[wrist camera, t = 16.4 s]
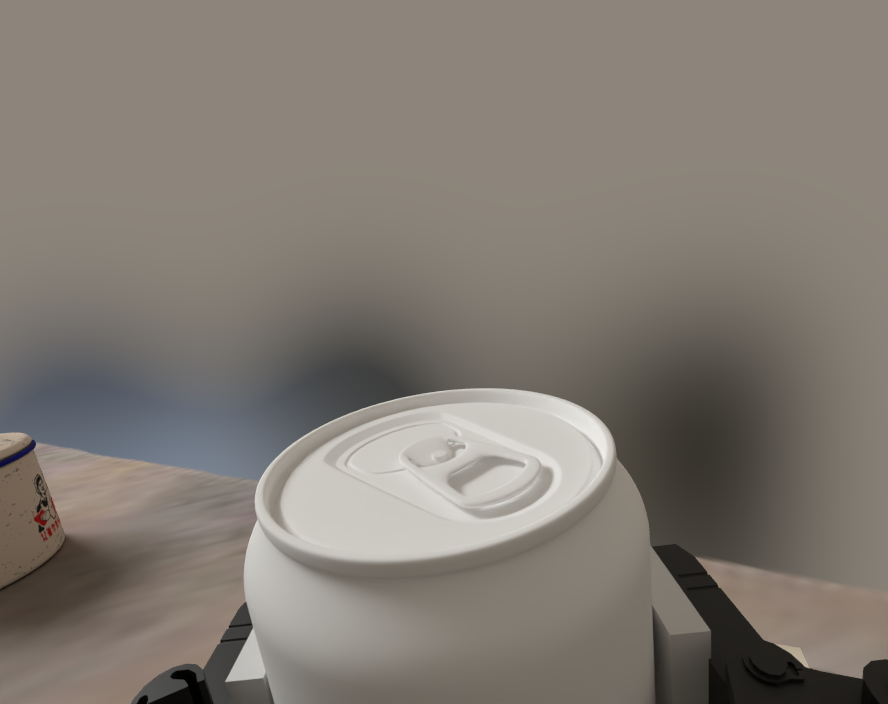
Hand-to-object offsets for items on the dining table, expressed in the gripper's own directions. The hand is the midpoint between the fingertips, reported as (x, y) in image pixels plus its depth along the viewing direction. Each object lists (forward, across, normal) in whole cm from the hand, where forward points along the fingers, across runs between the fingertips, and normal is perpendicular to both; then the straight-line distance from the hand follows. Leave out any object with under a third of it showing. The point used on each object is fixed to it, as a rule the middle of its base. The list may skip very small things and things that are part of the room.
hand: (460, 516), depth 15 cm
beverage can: (-5, 0, -7) cm, 9 cm away
